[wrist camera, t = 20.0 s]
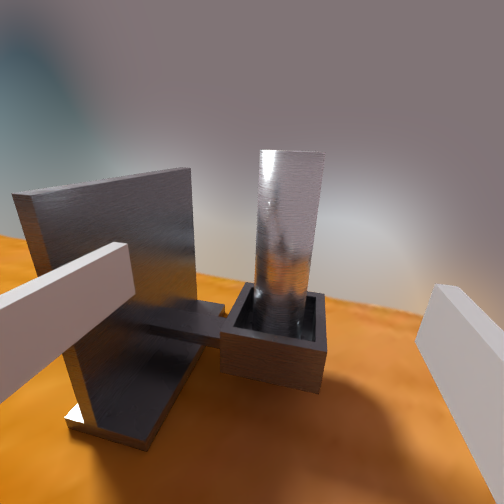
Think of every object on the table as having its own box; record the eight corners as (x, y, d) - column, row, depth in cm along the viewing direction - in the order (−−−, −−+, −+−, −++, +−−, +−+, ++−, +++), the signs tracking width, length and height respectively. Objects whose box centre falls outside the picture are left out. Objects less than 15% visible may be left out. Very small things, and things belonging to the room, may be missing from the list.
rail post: (246, 350, 22) (253, 150, 16) (257, 319, 26) (266, 149, 20) (298, 360, 21) (326, 153, 15) (301, 327, 25) (324, 151, 19)
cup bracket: (68, 427, 21) (-16, 190, 13) (177, 303, 37) (166, 166, 30) (311, 501, 17) (373, 229, 10) (314, 327, 33) (338, 177, 26)
